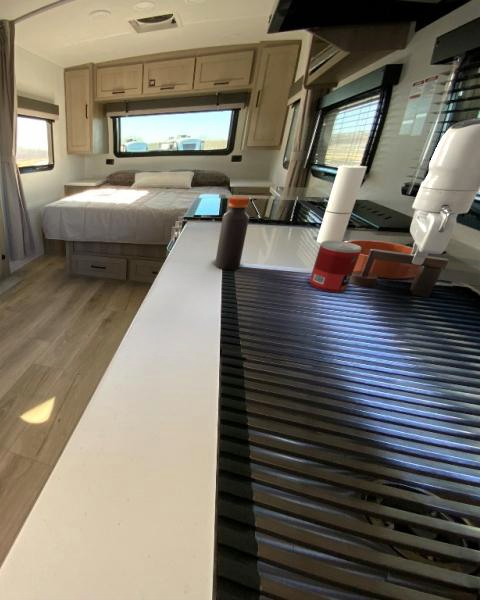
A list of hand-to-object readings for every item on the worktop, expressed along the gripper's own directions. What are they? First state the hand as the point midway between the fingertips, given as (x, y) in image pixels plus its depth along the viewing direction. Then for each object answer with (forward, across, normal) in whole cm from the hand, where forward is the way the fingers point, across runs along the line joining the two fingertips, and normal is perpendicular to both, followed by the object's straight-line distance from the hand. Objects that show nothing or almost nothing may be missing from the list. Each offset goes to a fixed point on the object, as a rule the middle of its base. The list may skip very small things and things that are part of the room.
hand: (415, 261), depth 78 cm
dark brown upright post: (+8, 0, -3) cm, 8 cm away
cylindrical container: (+8, +37, +17) cm, 41 cm away
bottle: (+8, -6, +40) cm, 41 cm away
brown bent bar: (+7, 0, +3) cm, 8 cm away
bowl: (+8, +15, +5) cm, 18 cm away
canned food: (+8, -7, +15) cm, 18 cm away
